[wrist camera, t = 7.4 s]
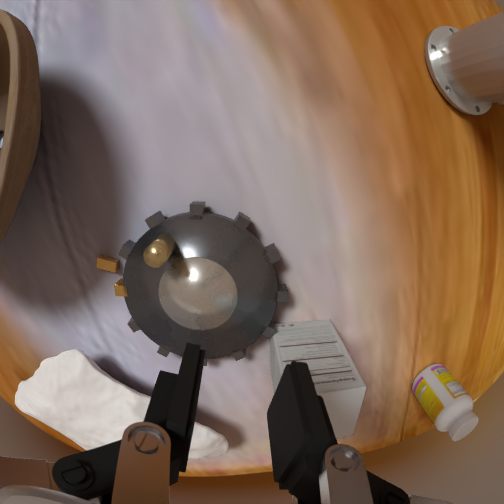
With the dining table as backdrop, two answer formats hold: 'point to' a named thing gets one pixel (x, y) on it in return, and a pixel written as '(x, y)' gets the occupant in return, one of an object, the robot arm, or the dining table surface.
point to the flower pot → (17, 113)
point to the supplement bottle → (445, 401)
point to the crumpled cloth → (95, 405)
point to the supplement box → (321, 368)
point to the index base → (108, 263)
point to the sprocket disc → (201, 283)
